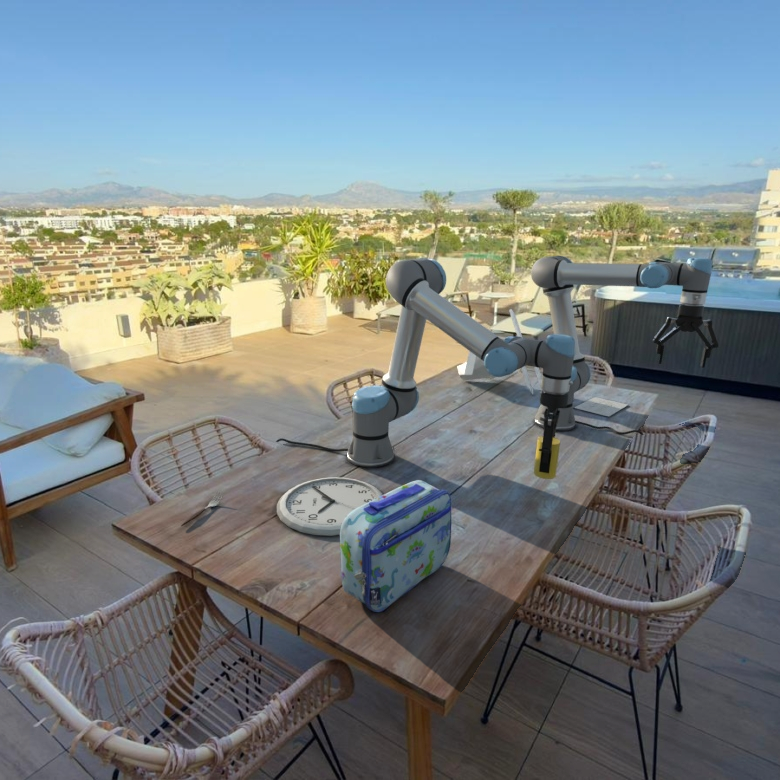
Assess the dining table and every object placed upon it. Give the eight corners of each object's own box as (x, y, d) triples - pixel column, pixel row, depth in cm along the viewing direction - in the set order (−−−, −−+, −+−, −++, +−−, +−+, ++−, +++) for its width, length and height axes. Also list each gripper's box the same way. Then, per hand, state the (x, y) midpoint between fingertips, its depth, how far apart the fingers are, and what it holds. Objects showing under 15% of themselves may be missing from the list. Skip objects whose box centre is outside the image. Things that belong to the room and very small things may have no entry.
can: (530, 474, 151) (534, 440, 148) (538, 467, 156) (542, 434, 153) (551, 481, 148) (555, 446, 145) (559, 473, 153) (563, 439, 149)
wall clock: (392, 527, 129) (268, 531, 127) (391, 533, 130) (269, 537, 127) (383, 473, 158) (282, 475, 155) (383, 478, 158) (282, 480, 156)
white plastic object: (478, 423, 260) (457, 400, 235) (460, 349, 282) (438, 321, 257) (551, 399, 247) (536, 372, 223) (525, 323, 270) (510, 291, 245)
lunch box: (369, 626, 100) (370, 530, 93) (334, 598, 107) (332, 507, 101) (455, 567, 117) (460, 483, 111) (419, 547, 124) (423, 467, 118)
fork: (176, 526, 131) (176, 519, 130) (217, 497, 145) (217, 491, 145) (185, 528, 130) (184, 521, 130) (225, 499, 145) (224, 492, 144)
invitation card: (608, 416, 214) (573, 407, 224) (608, 416, 214) (573, 408, 224) (628, 404, 229) (594, 396, 238) (628, 405, 229) (594, 397, 238)
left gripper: (566, 403, 134) (555, 483, 141) (571, 383, 151) (561, 456, 158) (536, 399, 137) (527, 478, 144) (544, 380, 154) (536, 452, 161)
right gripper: (653, 303, 179) (643, 363, 185) (737, 308, 171) (723, 370, 178) (650, 300, 185) (640, 359, 192) (730, 305, 178) (718, 365, 184)
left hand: (545, 466), depth 151 cm, fingers closed on can, 6 cm apart
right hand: (680, 364), depth 185 cm, fingers open, 13 cm apart
